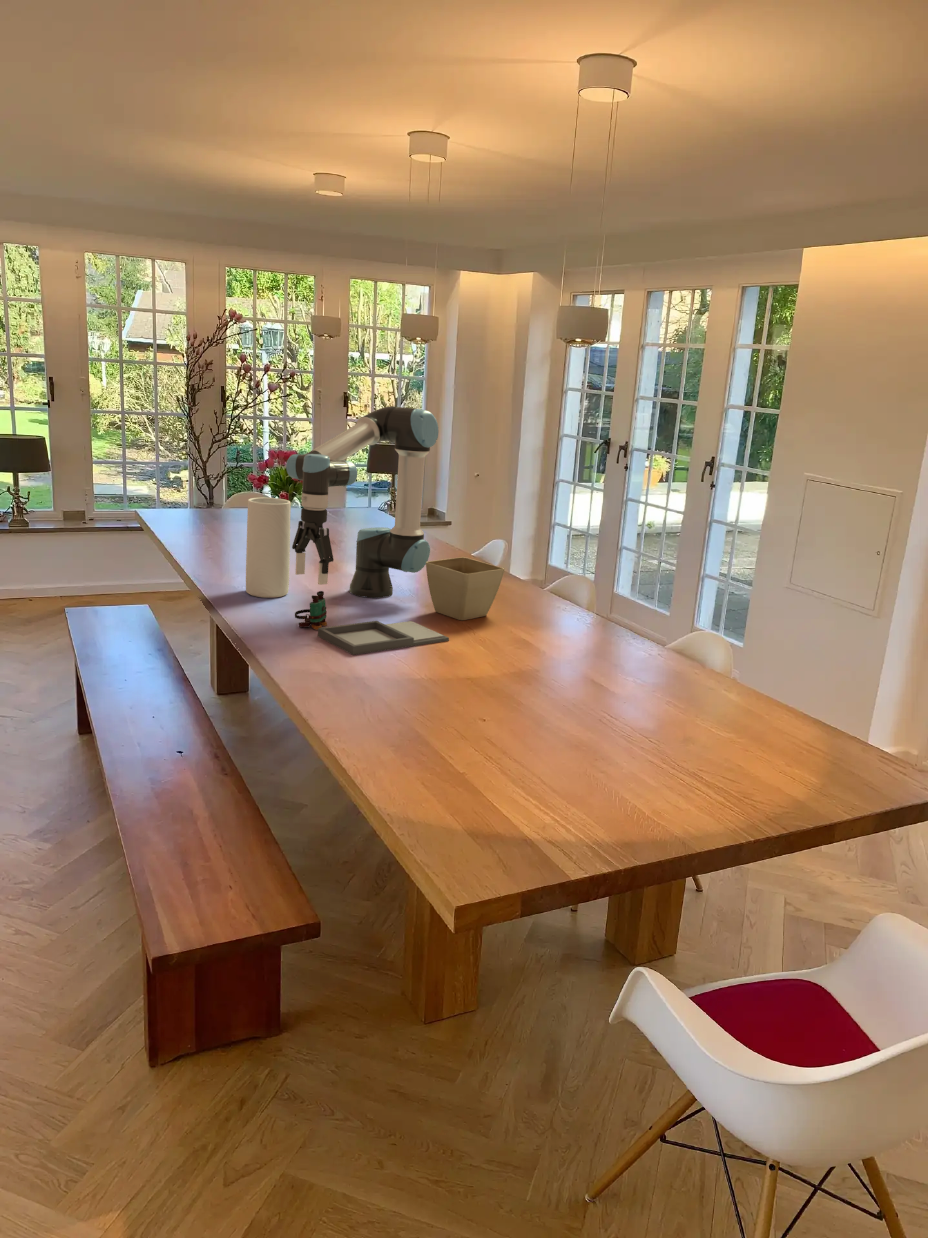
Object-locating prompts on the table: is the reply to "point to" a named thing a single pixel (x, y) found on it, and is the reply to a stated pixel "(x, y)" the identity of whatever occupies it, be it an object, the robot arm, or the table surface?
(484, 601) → the flower pot
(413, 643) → the case
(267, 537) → the vase
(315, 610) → the binoculars
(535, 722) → the table surface
